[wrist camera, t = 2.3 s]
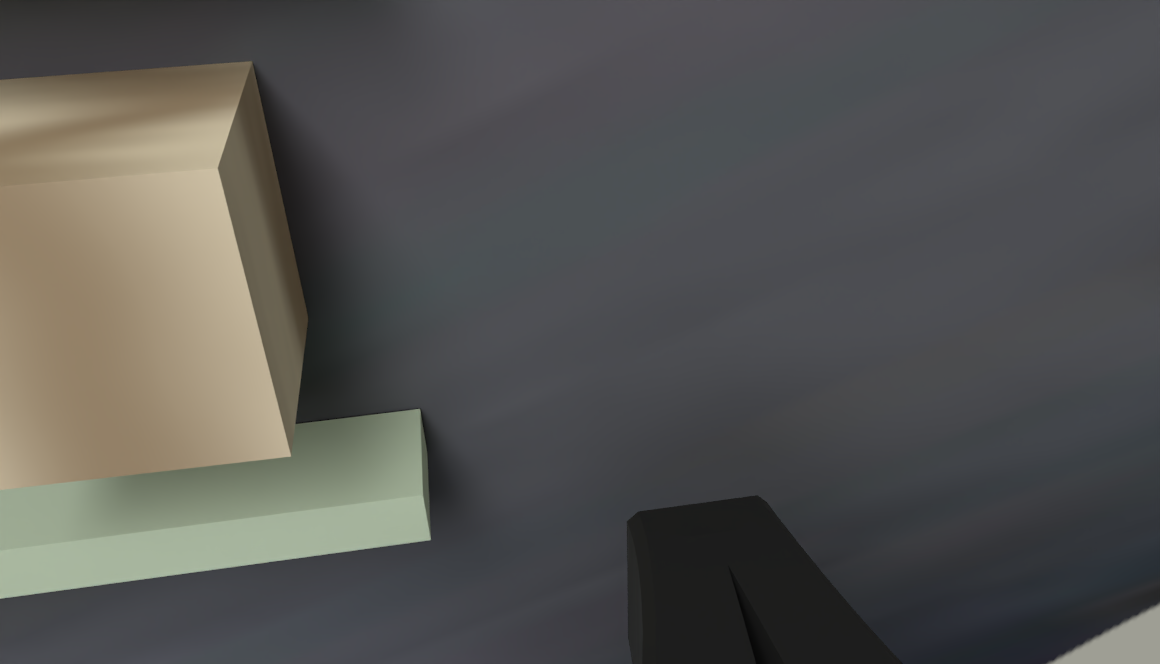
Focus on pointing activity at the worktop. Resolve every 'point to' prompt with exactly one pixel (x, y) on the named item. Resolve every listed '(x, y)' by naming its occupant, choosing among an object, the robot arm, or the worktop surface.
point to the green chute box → (223, 510)
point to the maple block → (143, 276)
